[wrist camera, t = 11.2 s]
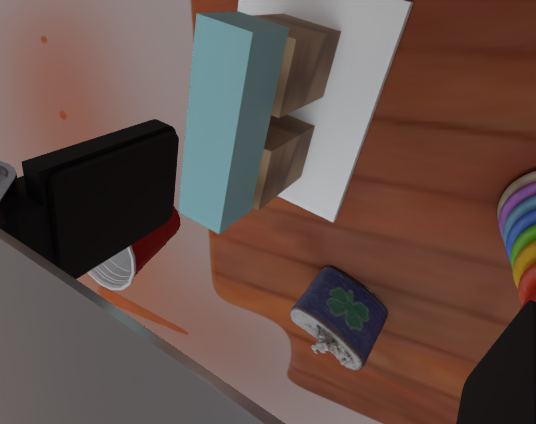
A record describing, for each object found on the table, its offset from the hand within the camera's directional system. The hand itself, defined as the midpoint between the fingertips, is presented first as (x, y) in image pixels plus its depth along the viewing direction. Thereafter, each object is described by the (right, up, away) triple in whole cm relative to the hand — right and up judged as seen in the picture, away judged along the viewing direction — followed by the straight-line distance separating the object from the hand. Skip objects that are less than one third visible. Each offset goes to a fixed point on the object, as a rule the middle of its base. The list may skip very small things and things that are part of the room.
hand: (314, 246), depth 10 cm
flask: (+9, -8, +38) cm, 40 cm away
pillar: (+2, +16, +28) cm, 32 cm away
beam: (-3, +8, +24) cm, 25 cm away
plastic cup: (-16, +1, +50) cm, 52 cm away
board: (+2, +12, +32) cm, 34 cm away
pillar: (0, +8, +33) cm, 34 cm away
